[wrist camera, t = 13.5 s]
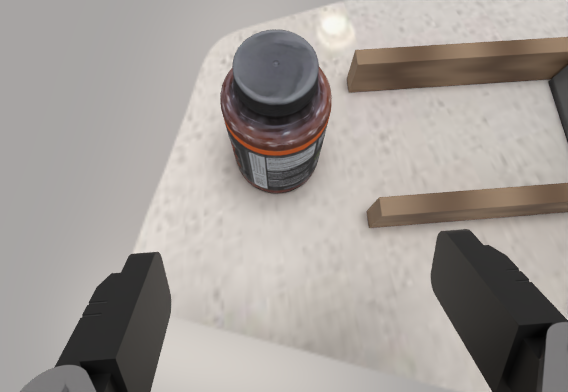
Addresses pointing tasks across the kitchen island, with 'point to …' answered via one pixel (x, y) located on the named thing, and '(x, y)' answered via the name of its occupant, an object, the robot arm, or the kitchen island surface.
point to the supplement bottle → (276, 109)
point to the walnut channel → (461, 71)
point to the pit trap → (561, 96)
